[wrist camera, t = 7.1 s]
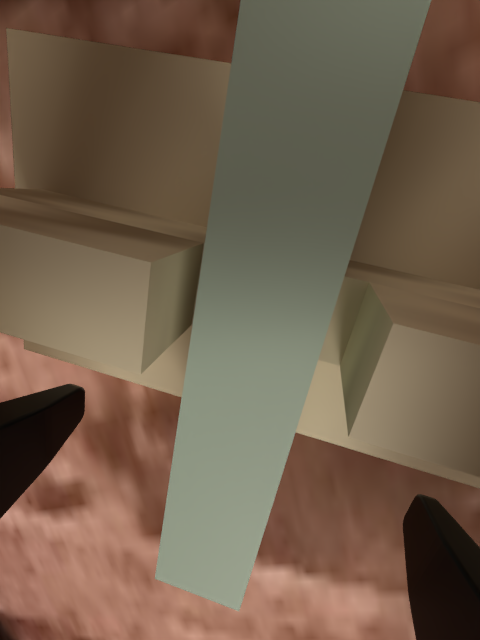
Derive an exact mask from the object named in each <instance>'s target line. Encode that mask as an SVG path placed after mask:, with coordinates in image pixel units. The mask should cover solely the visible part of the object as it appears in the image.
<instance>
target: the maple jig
mask: <svg viewBox="0 0 480 640" xmlns="http://www.w3.org/2000/svg"><path fill="white" fill-rule="evenodd" d="M6 33H7V51H8V69H9V87H10V105H11V123H12V141H13V158H14V176H15V188H0V332H1V333H4V334H7V335H11V336H14V337H17V338H21V339H24V349H26V350H29V351H32V352H36V353H39V354H42V355H45V356H49V357H52V358H55V359H58V360H62V361H65V362H68V363H72V364H75V365H78V366H81V367H85V368H88V369H91V370H94V371H98V372H101V373H104V374H107V375H111V376H114V377H117V378H120V379H124V380H127V381H130V382H134V383H137V384H140V385H143V386H147V387H150V388H153V389H156V390H160V391H163V392H166V393H169V394H173V395H176V396H179V397H182V392H183V386H184V379H185V372H186V365H187V359H188V352H189V345H190V339H191V332H192V325H193V318H194V312H195V305H196V298H197V291H198V285H199V278H200V271H201V264H202V258H203V251H204V244H205V237H206V231H207V224H208V217H209V211H210V204H211V197H212V190H213V184H214V177H215V170H216V163H217V157H218V150H219V143H220V136H221V130H222V123H223V116H224V109H225V103H226V96H227V89H228V82H229V76H230V69H231V63H226V62H220V61H214V60H207V59H201V58H194V57H188V56H182V55H175V54H169V53H163V52H156V51H150V50H144V49H137V48H131V47H124V46H118V45H112V44H105V43H99V42H93V41H86V40H80V39H73V38H67V37H61V36H54V35H48V34H42V33H35V32H29V31H22V30H16V29H10V28H6ZM296 432H297V433H300V434H303V435H307V436H310V437H313V438H316V439H320V440H323V441H326V442H329V443H333V444H336V445H339V446H342V447H346V448H349V449H352V450H356V451H359V452H362V453H365V454H369V455H372V456H375V457H378V458H382V459H385V460H388V461H391V462H395V463H398V464H401V465H405V466H408V467H411V468H414V469H418V470H421V471H424V472H427V473H431V474H434V475H437V476H440V477H444V478H447V479H450V480H453V481H457V482H460V483H463V484H467V485H470V486H473V487H476V488H480V102H475V101H469V100H462V99H456V98H449V97H443V96H437V95H430V94H424V93H418V92H411V91H405V90H403V92H402V95H401V98H400V101H399V105H398V108H397V111H396V114H395V117H394V120H393V124H392V127H391V130H390V133H389V136H388V140H387V143H386V146H385V149H384V152H383V155H382V159H381V162H380V165H379V168H378V171H377V174H376V178H375V181H374V184H373V187H372V190H371V194H370V197H369V200H368V203H367V206H366V209H365V213H364V216H363V219H362V222H361V225H360V229H359V232H358V235H357V238H356V241H355V244H354V248H353V251H352V254H351V257H350V260H349V263H348V267H347V270H346V273H345V276H344V279H343V283H342V286H341V289H340V292H339V295H338V298H337V302H336V305H335V308H334V311H333V314H332V318H331V321H330V324H329V327H328V330H327V333H326V337H325V340H324V343H323V346H322V349H321V352H320V356H319V359H318V362H317V365H316V368H315V372H314V375H313V378H312V381H311V384H310V387H309V391H308V394H307V397H306V400H305V403H304V406H303V410H302V413H301V416H300V419H299V422H298V426H297V429H296Z"/></svg>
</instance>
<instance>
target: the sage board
mask: <svg viewBox="0 0 480 640" xmlns="http://www.w3.org/2000/svg"><path fill="white" fill-rule="evenodd" d="M430 3H431V0H241V2H240V8H239V15H238V22H237V29H236V35H235V42H234V49H233V56H232V62H231V69H230V76H229V82H228V89H227V96H226V103H225V109H224V116H223V123H222V130H221V136H220V143H219V150H218V157H217V163H216V170H215V177H214V184H213V190H212V197H211V204H210V211H209V217H208V224H207V231H206V237H205V244H204V251H203V258H202V264H201V271H200V278H199V285H198V291H197V298H196V305H195V312H194V318H193V325H192V332H191V339H190V345H189V352H188V359H187V365H186V372H185V379H184V386H183V392H182V399H181V406H180V413H179V419H178V426H177V433H176V440H175V446H174V453H173V460H172V467H171V473H170V480H169V487H168V493H167V500H166V507H165V514H164V520H163V527H162V534H161V541H160V547H159V554H158V561H157V568H156V574H155V579H157V580H160V581H162V582H165V583H167V584H170V585H172V586H175V587H178V588H180V589H183V590H185V591H188V592H190V593H193V594H196V595H198V596H201V597H203V598H206V599H208V600H211V601H214V602H216V603H219V604H221V605H224V606H226V607H229V608H232V609H234V610H237V611H239V610H240V607H241V604H242V600H243V597H244V594H245V591H246V588H247V584H248V581H249V578H250V575H251V572H252V569H253V565H254V562H255V559H256V556H257V553H258V550H259V546H260V543H261V540H262V537H263V534H264V530H265V527H266V524H267V521H268V518H269V515H270V511H271V508H272V505H273V502H274V499H275V495H276V492H277V489H278V486H279V483H280V480H281V476H282V473H283V470H284V467H285V464H286V461H287V457H288V454H289V451H290V448H291V445H292V441H293V438H294V435H295V432H296V429H297V426H298V422H299V419H300V416H301V413H302V410H303V406H304V403H305V400H306V397H307V394H308V391H309V387H310V384H311V381H312V378H313V375H314V372H315V368H316V365H317V362H318V359H319V356H320V352H321V349H322V346H323V343H324V340H325V337H326V333H327V330H328V327H329V324H330V321H331V318H332V314H333V311H334V308H335V305H336V302H337V298H338V295H339V292H340V289H341V286H342V283H343V279H344V276H345V273H346V270H347V267H348V263H349V260H350V257H351V254H352V251H353V248H354V244H355V241H356V238H357V235H358V232H359V229H360V225H361V222H362V219H363V216H364V213H365V209H366V206H367V203H368V200H369V197H370V194H371V190H372V187H373V184H374V181H375V178H376V174H377V171H378V168H379V165H380V162H381V159H382V155H383V152H384V149H385V146H386V143H387V140H388V136H389V133H390V130H391V127H392V124H393V120H394V117H395V114H396V111H397V108H398V105H399V101H400V98H401V95H402V92H403V89H404V86H405V82H406V79H407V76H408V73H409V70H410V66H411V63H412V60H413V57H414V54H415V51H416V47H417V44H418V41H419V38H420V35H421V31H422V28H423V25H424V22H425V19H426V16H427V12H428V9H429V6H430Z"/></svg>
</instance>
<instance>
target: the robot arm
mask: <svg viewBox="0 0 480 640" xmlns="http://www.w3.org/2000/svg"><path fill="white" fill-rule="evenodd" d="M84 411H85V390H84V388H82V387H80V386H77V385H74V384H66V385H63V386H59V387H55V388H52V389H48V390H45V391H41V392H37V393H34V394H30V395H27V396H23V397H19V398H16V399H12V400H9V401H5V402H1V403H0V518H1V517H2V516H3V515H4V514H5V513H6V512H7V511H8V509H9V508H10V507H11V506H12V505H13V504H14V503H15V502H16V501H17V499H18V498H19V497H20V496H21V495H22V494H23V493H24V492H25V490H26V489H27V488H28V487H29V486H30V485H31V484H32V483H33V482H34V480H35V479H36V478H37V477H38V476H39V475H40V474H41V473H42V471H43V470H44V469H45V468H46V467H47V465H48V464H49V463H50V462H51V460H52V459H53V458H54V456H55V455H56V454H57V452H58V451H59V450H60V448H61V447H62V446H63V444H64V443H65V441H66V440H67V439H68V437H69V436H70V435H71V433H72V432H73V431H74V429H75V428H76V427H77V425H78V424H79V423H80V421H81V420H82V418H83V415H84ZM403 535H404V547H405V560H406V572H407V584H408V593H409V601H410V607H411V613H412V618H413V624H414V629H415V635H416V640H480V547H479V546H478V545H477V544H476V543H475V542H474V541H473V540H472V538H471V537H470V536H469V535H468V534H467V533H466V532H465V531H464V530H463V528H462V527H461V526H460V525H459V524H458V523H457V522H456V521H455V519H454V518H453V517H452V516H451V515H450V514H449V513H448V512H447V511H446V509H445V508H444V507H443V506H442V505H441V504H440V503H439V502H438V501H437V500H436V499H434V498H431V497H428V496H425V495H421V494H418V495H417V496H415V498H414V500H413V501H412V503H411V505H410V507H409V509H408V511H407V513H406V515H405V517H404V520H403Z"/></svg>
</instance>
